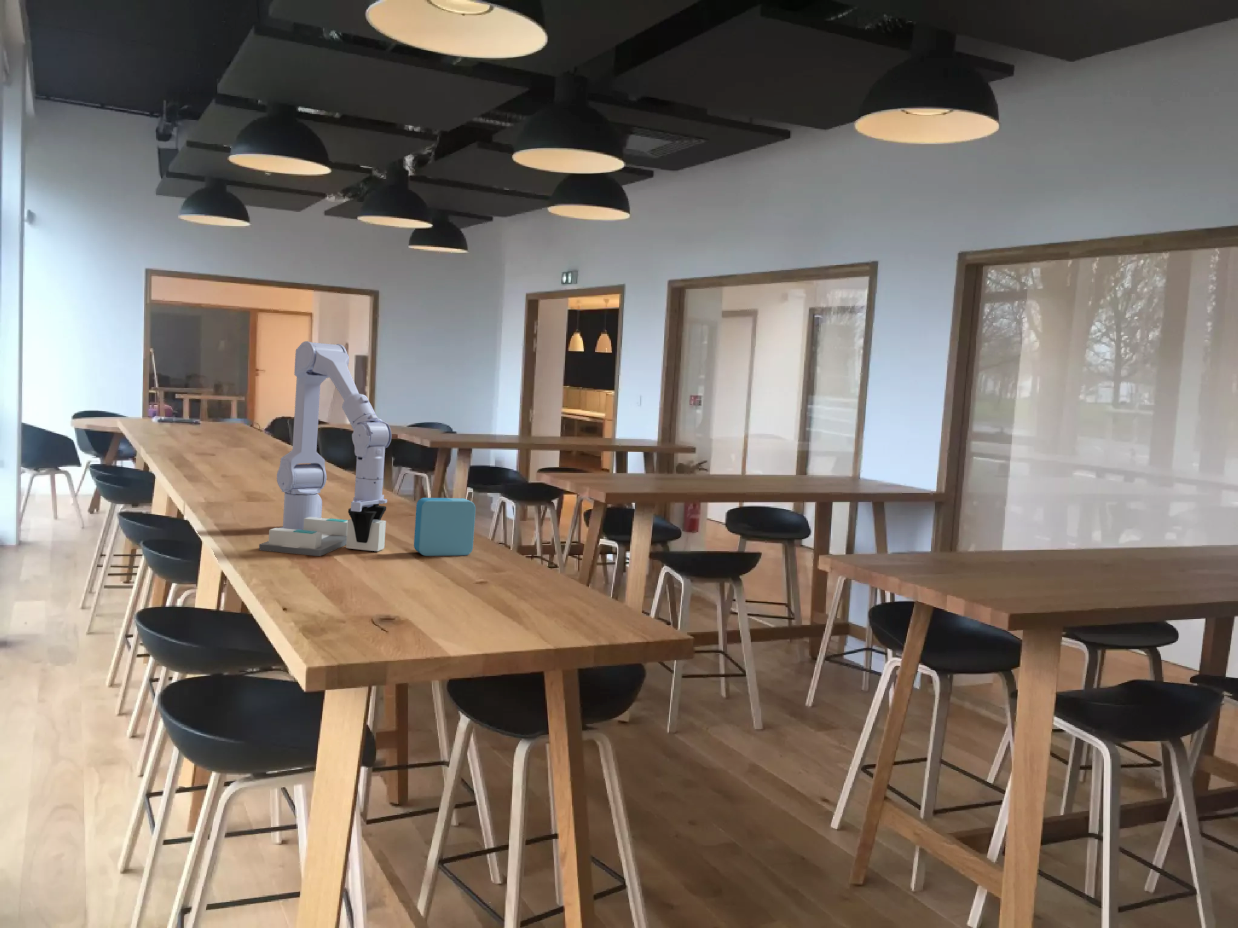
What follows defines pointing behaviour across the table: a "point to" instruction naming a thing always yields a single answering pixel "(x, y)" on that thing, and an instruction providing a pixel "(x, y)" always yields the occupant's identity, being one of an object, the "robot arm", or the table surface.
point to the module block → (375, 536)
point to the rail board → (307, 551)
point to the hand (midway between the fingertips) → (365, 540)
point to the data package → (444, 526)
